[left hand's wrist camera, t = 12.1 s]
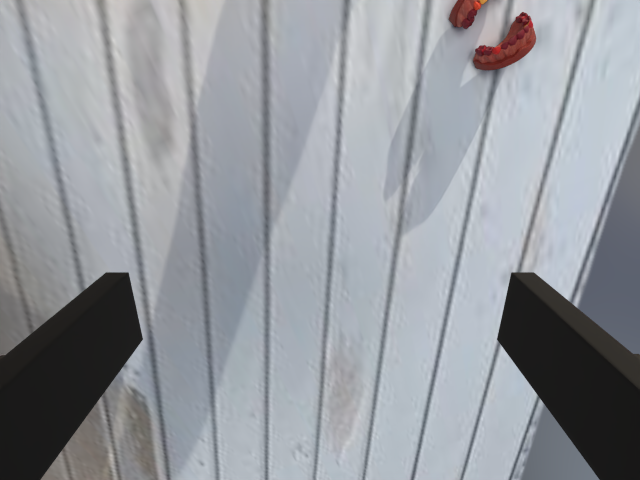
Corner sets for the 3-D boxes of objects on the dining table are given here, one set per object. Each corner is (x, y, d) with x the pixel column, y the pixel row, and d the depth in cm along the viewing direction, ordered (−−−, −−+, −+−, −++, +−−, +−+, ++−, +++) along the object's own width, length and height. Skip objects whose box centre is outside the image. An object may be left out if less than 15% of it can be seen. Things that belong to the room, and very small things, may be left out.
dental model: (514, -52, 30) (555, 35, 32) (493, -37, 34) (531, 40, 36) (454, -2, 31) (497, 78, 34) (440, 7, 35) (480, 78, 38)
